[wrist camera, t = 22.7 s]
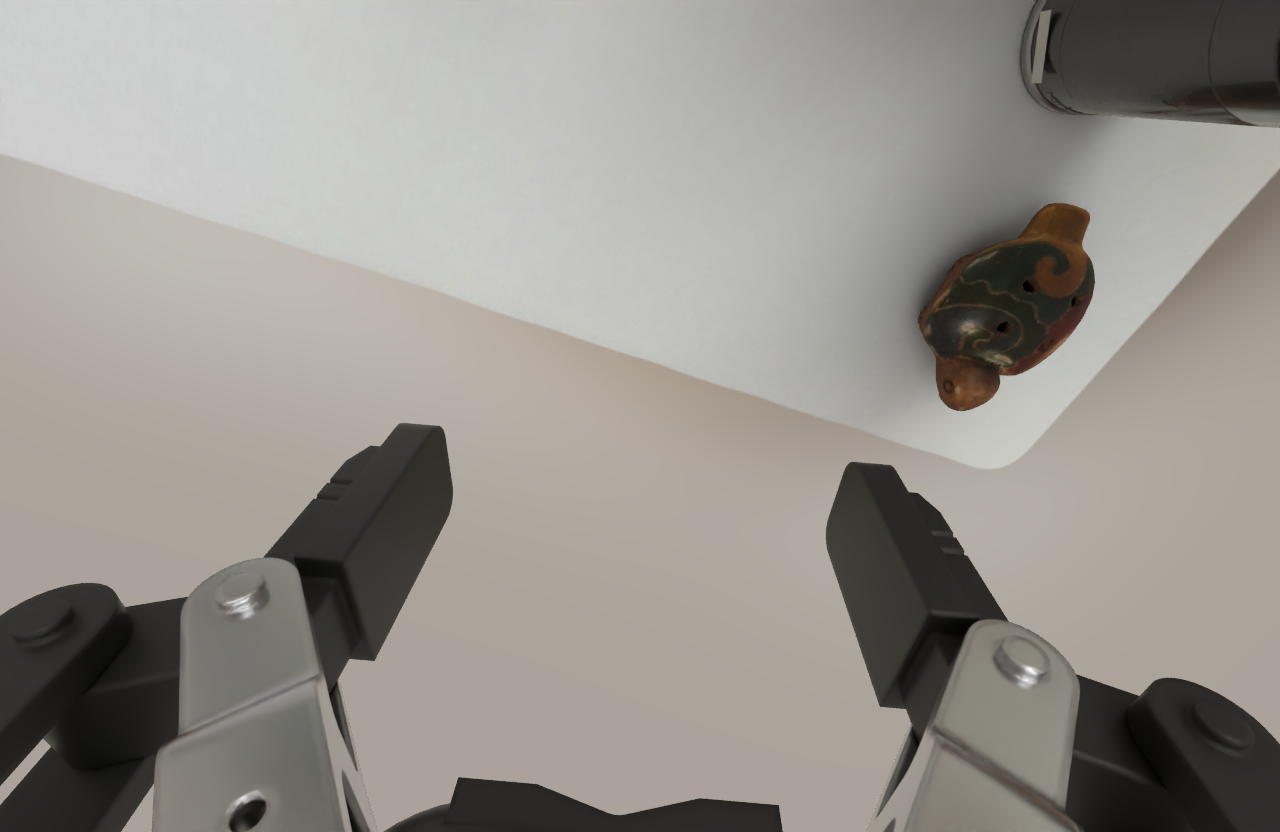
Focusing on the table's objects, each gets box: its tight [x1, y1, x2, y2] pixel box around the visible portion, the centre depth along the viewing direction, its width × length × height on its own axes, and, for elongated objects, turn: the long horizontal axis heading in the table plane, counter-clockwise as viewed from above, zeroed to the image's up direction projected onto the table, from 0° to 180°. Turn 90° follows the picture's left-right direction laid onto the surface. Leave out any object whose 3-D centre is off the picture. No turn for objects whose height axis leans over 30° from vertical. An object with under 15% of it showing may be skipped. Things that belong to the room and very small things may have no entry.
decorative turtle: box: [918, 203, 1095, 411], centre depth 40 cm, size 10×15×8 cm, turn 164°
